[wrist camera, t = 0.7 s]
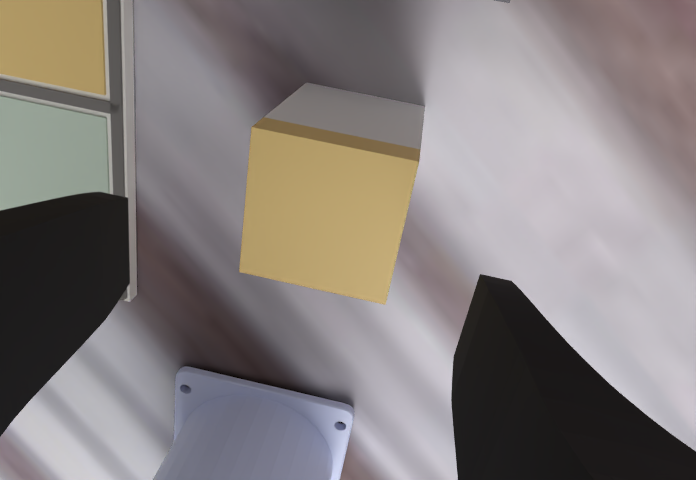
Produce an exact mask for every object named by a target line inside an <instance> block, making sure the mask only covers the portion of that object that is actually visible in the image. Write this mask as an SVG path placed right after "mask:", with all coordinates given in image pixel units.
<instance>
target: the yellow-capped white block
mask: <svg viewBox="0 0 696 480" xmlns="http://www.w3.org/2000/svg"><path fill="white" fill-rule="evenodd" d="M424 111H425V106H422V105H417V104H412V103H407V102H402V101H397V100H392V99H387V98H382V97H377V96H372V95H367V94H362V93H357V92H352V91H347V90H342V89H337V88H332V87H327V86H322V85H317V84H312V83H307V82H306V83H305V84H304V85H303V86H302V87H300V88H299V89H298V90H297V91H295V92H294V93H293V94H292V95H290V96H289V97H288V98H287V99H285V100H284V101H283V102H282V103H281V104H279V105H278V106H277V107H276V108H274V109H273V110H272V111H271V112H269V113H268V114H267V115H266V116H265V117H263V118H262V119H261V120H260V121H258V122H257V123H256V124H255V125H253V126H252V127H251V139H250V151H249V162H248V174H247V186H246V197H245V209H244V221H243V232H242V244H241V256H240V268H239V272H242V273H246V274H250V275H255V276H259V277H264V278H268V279H273V280H277V281H282V282H286V283H291V284H295V285H300V286H304V287H309V288H313V289H318V290H322V291H327V292H331V293H335V294H340V295H344V296H349V297H353V298H358V299H362V300H367V301H371V302H376V303H380V304H386V300H387V296H388V292H389V287H390V283H391V279H392V275H393V270H394V266H395V262H396V258H397V253H398V249H399V245H400V241H401V236H402V232H403V228H404V224H405V219H406V215H407V211H408V207H409V202H410V198H411V194H412V190H413V185H414V181H415V177H416V173H417V168H418V164H419V158H420V148H421V139H422V130H423V120H424Z"/></svg>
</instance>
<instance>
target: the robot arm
mask: <svg viewBox="0 0 696 480" xmlns="http://www.w3.org/2000/svg"><path fill="white" fill-rule="evenodd" d="M129 284H130V262H129V214H128V198H127V197H122V196H118V195H113V194H108V193H104V192H89V193H81V194H75V195H70V196H65V197H60V198H55V199H50V200H46V201H41V202H36V203H32V204H27V205H23V206H18V207H14V208H9V209H5V210H0V436H1V435H2V434H3V432H4V431H5V430H6V428H7V427H8V426H9V424H10V423H11V422H12V421H13V419H14V418H15V417H16V416H17V415H18V413H19V412H20V411H21V410H22V409H23V408H24V407H25V405H26V404H27V403H28V402H29V401H30V400H31V399H32V398H33V396H34V395H35V394H36V393H37V392H38V391H39V390H40V389H41V388H42V387H43V386H44V385H45V384H46V383H47V382H48V381H49V380H50V378H51V377H52V376H53V375H54V374H55V373H56V372H57V371H58V370H59V369H60V368H61V367H62V366H63V365H64V364H65V363H66V362H67V360H68V359H69V358H70V357H71V356H72V355H73V354H74V353H75V352H76V351H77V350H78V349H79V348H80V347H81V346H82V345H83V343H84V342H85V341H86V340H87V339H88V338H89V337H90V336H91V335H92V334H93V333H94V332H95V330H96V329H97V328H98V327H99V326H100V325H101V324H102V323H103V322H104V320H105V319H106V318H107V316H108V315H109V314H110V312H111V311H112V309H113V308H114V307H115V305H116V304H117V302H118V301H119V299H120V298H121V296H122V295H123V293H124V292H125V290H126V289H127V287H128V285H129ZM185 385H187V386H189V387H190V388H188V387H186V386H185ZM451 401H452V414H453V426H454V438H455V450H456V461H457V472H458V480H696V452H695V451H694V450H693V449H691V448H690V447H688V446H687V445H686V444H684V443H683V442H681V441H680V440H679V439H677V438H676V437H674V436H673V435H672V434H670V433H669V432H668V431H666V430H665V429H664V428H662V427H661V426H660V425H658V424H657V423H656V422H654V421H653V420H652V419H651V418H649V417H648V416H647V415H646V414H645V413H643V412H642V411H641V410H640V409H639V408H637V407H636V406H635V405H634V404H632V403H631V402H630V401H629V400H628V399H626V398H625V397H624V396H623V395H622V394H620V393H619V392H618V391H617V390H616V389H615V388H614V387H612V386H611V385H610V384H609V383H608V382H607V381H606V380H605V379H604V378H603V377H602V376H601V375H600V374H598V373H597V372H596V371H595V370H594V369H593V368H592V367H591V366H590V365H589V364H588V363H587V362H586V361H585V360H584V359H583V358H582V357H581V356H580V355H579V354H578V353H577V352H576V351H575V350H574V349H573V348H572V347H571V346H570V345H569V344H568V343H567V342H566V340H565V339H564V338H563V337H562V336H561V335H560V334H559V333H558V332H557V331H556V330H555V328H554V327H553V326H552V325H551V324H550V323H549V322H548V321H547V320H546V318H545V317H544V316H543V315H542V314H541V313H540V312H539V310H538V309H537V308H536V307H535V306H534V305H533V304H532V302H531V301H530V300H529V299H528V298H527V297H526V296H525V295H524V293H523V292H522V291H521V290H520V289H519V288H518V287H517V286H516V285H515V284H514V283H513V282H512V281H509V280H504V279H500V278H495V277H491V276H486V275H481V274H480V276H479V279H478V282H477V286H476V289H475V292H474V295H473V298H472V301H471V304H470V307H469V311H468V314H467V317H466V320H465V323H464V326H463V329H462V332H461V336H460V339H459V342H458V345H457V348H456V351H455V354H454V361H453V377H452V400H451ZM353 420H354V409H353V408H352V407H351V406H350V405H348V404H345V403H341V402H337V401H333V400H329V399H324V398H320V397H316V396H312V395H307V394H303V393H299V392H295V391H290V390H286V389H282V388H278V387H273V386H269V385H265V384H261V383H256V382H252V381H248V380H244V379H239V378H235V377H231V376H227V375H222V374H218V373H214V372H210V371H205V370H201V369H197V368H193V367H186V366H185V367H182V368H181V369H179V371H178V372H177V374H176V377H175V409H174V443H173V445H172V447H171V448H170V450H169V452H168V454H167V455H166V457H165V459H164V461H163V462H162V464H161V466H160V468H159V470H158V471H157V473H156V475H155V477H154V478H153V480H340V476H341V472H342V468H343V463H344V459H345V455H346V450H347V446H348V441H349V437H350V433H351V428H352V424H353ZM338 422H343V423H345V424H340V423H338Z"/></svg>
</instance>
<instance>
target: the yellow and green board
mask: <svg viewBox="0 0 696 480" xmlns="http://www.w3.org/2000/svg"><path fill="white" fill-rule="evenodd" d="M89 192H104V193H108V194H113V195H118V196H122V197H127V198H128V214H129V262H130V284H129V285H128V287H127V289H126V290H125V292H124V293H123V295H122V296H121V298H120V299H119V300H123V301H128V302H130V301H131V300H132V299H133V298H134V297H135V296H136V295H137V251H136V178H135V106H134V33H133V0H0V210H5V209H9V208H14V207H18V206H23V205H27V204H32V203H36V202H41V201H46V200H50V199H55V198H60V197H65V196H70V195H75V194H81V193H89Z"/></svg>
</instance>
